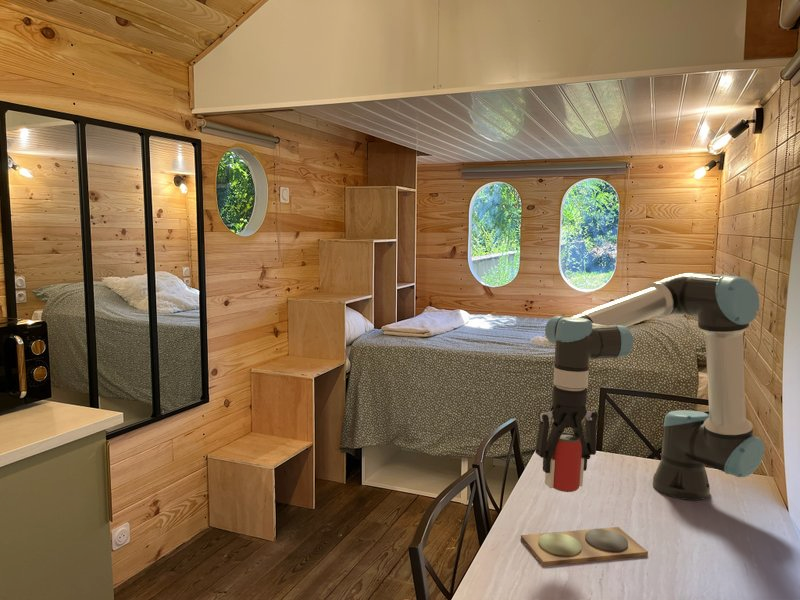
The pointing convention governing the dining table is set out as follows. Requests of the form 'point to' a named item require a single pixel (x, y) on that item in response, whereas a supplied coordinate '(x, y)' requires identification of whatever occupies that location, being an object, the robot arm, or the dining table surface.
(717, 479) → the dining table surface
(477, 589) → the dining table surface
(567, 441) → the beer can
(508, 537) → the dining table surface
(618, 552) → the seat board
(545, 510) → the dining table surface
